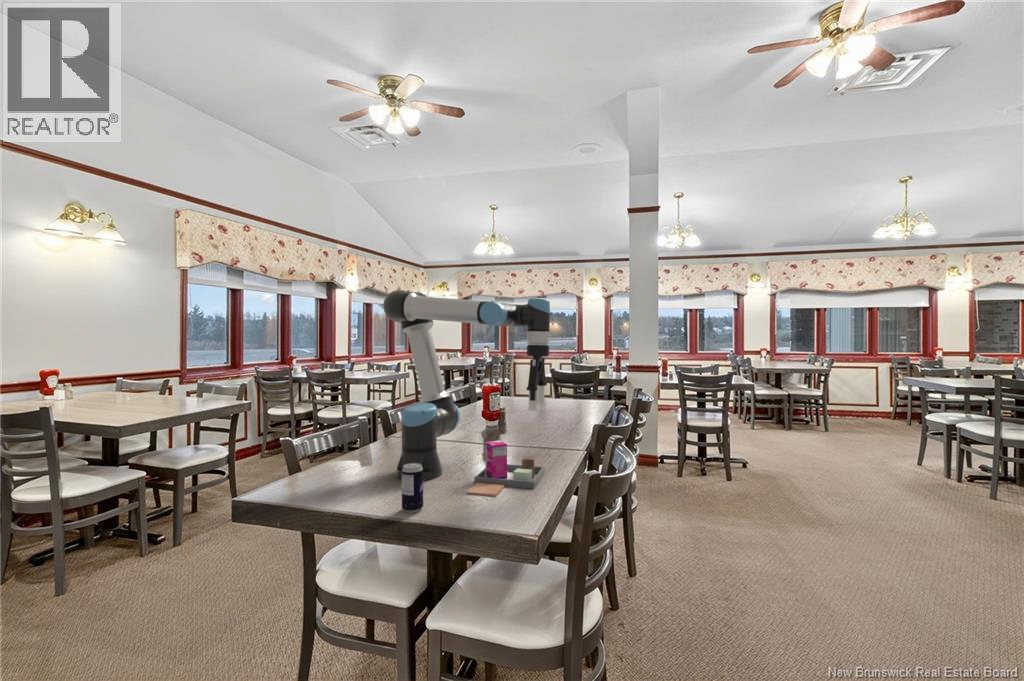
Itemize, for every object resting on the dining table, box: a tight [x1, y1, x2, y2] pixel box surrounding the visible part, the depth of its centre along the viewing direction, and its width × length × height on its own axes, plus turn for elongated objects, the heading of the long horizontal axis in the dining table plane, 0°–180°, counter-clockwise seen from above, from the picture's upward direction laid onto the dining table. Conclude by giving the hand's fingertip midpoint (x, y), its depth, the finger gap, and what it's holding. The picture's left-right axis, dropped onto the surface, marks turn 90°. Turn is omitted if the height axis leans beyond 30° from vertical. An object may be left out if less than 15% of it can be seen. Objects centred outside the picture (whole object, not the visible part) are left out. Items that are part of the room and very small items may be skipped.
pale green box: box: [512, 468, 533, 481], centre depth 149 cm, size 5×4×4 cm
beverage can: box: [401, 463, 424, 514], centre depth 126 cm, size 6×6×12 cm
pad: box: [466, 483, 506, 497], centre depth 142 cm, size 9×9×1 cm
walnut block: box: [521, 455, 535, 479], centre depth 157 cm, size 4×4×6 cm
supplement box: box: [484, 439, 508, 479], centre depth 156 cm, size 6×6×12 cm
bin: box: [473, 463, 546, 489], centre depth 154 cm, size 19×17×2 cm
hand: (536, 407), depth 158 cm, fingers open, 13 cm apart
